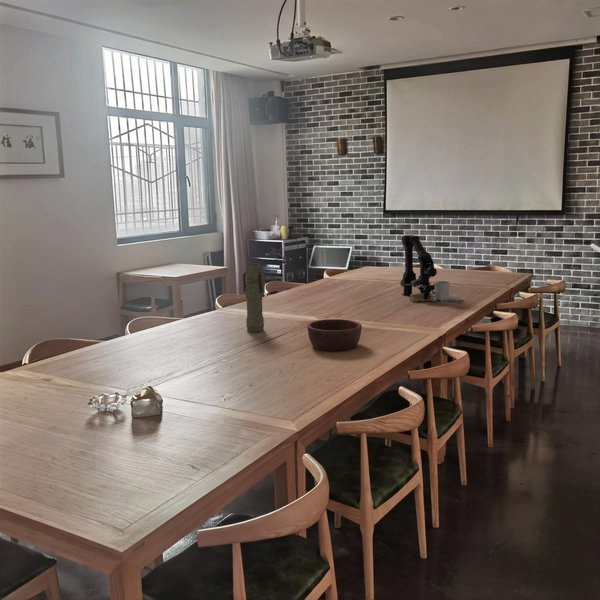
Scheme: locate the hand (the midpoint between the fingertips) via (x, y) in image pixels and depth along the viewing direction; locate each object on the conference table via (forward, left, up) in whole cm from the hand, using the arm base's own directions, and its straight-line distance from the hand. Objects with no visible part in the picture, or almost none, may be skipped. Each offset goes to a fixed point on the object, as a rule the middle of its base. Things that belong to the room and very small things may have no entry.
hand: (424, 299), depth 390 cm
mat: (0, +16, -1) cm, 16 cm away
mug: (0, +11, -1) cm, 11 cm away
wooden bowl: (+92, -81, -2) cm, 123 cm away
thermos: (+52, -113, -1) cm, 125 cm away
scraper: (0, -2, -1) cm, 2 cm away
